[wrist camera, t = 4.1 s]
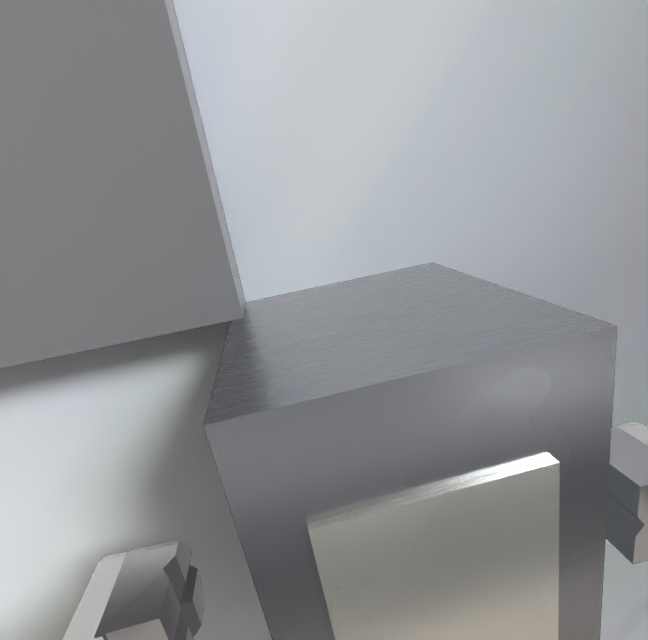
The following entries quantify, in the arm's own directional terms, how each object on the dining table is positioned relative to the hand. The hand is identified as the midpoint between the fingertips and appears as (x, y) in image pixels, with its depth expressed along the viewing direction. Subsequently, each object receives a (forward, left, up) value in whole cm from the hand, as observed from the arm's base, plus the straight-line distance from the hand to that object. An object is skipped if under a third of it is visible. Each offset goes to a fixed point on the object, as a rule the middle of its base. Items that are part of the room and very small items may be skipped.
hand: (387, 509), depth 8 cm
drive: (0, 0, -2) cm, 2 cm away
